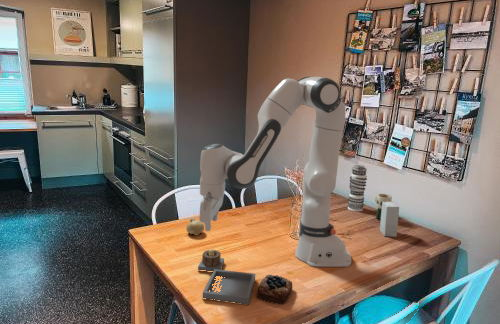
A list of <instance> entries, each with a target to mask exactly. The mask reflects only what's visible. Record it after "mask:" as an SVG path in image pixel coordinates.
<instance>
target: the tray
mask: <svg viewBox="0 0 500 324" xmlns="http://www.w3.org/2000/svg"><path fill="white" fill-rule="evenodd" d="M216 276H220V277H221V276H222V277H223V278H222V279H221V280H222V281H220V284H219V288H220V286H221V285H222V287H221V289H220V290H221V291H220V292H218V291H216V292H214V291H215V289H216V288H214V290H212V288H213V286H214V285H213V286H212V284H214V283H215V281H216V280H214V279H216V278H215V277H216ZM224 277H225V278H224ZM218 280H219V279H218ZM218 282H219V281H217V282H216V283H218ZM254 282H256V273H254V272H253V273H252V272H244V271H243V272H242V271H234V270H225V269H221V270H217V269H214V271H213V273H211V275H210V276H209V279H208V281H207V283H206V285H205V287H204V288H203V291H202V299H203V298H206V299H213V300H214V299H215V300H220V301H228V302H235V303H241V304H240V305H242V304H249V305H250V302H251V298H250V297H252V294H253V289H254V287H253V286H255V283H254ZM215 286H216V287H217V284H216V285H215ZM209 290H210V292H209ZM217 292H218V293H217ZM249 301H250V302H249Z"/></svg>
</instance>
